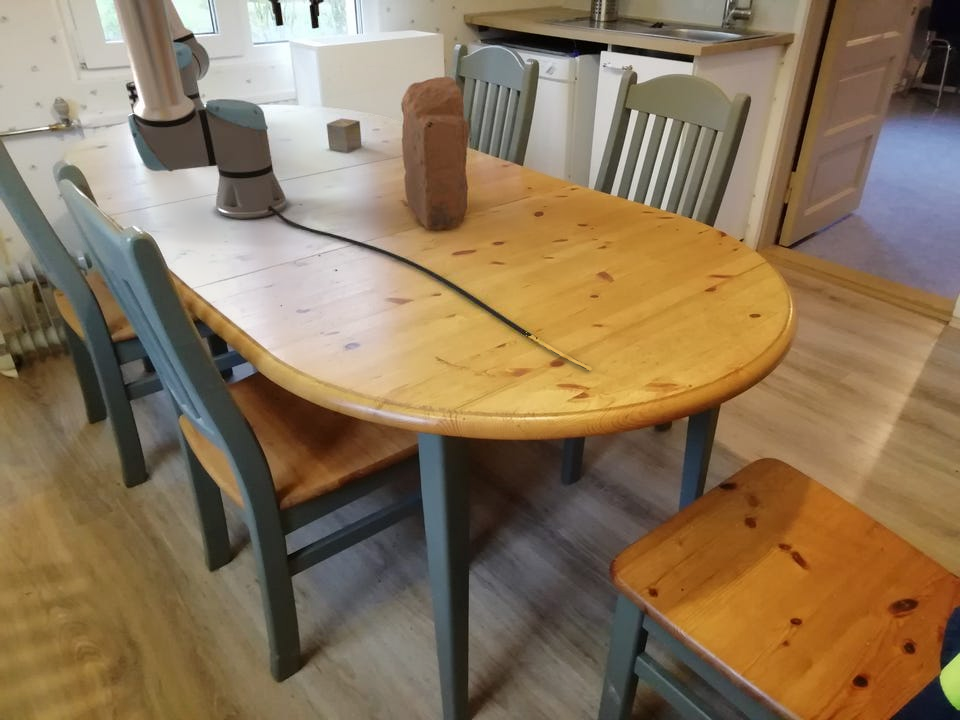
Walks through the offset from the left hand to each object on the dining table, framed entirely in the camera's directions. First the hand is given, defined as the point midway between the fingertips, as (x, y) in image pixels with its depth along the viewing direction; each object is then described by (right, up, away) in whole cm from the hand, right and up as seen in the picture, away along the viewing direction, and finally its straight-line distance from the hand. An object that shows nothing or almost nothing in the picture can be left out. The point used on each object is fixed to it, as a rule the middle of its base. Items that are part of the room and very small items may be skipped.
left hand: (297, 26), depth 218 cm
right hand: (-20, -21, -58) cm, 65 cm away
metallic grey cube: (+19, -44, -18) cm, 51 cm away
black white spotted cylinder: (-28, -44, -37) cm, 64 cm away
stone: (+48, -73, -62) cm, 107 cm away
